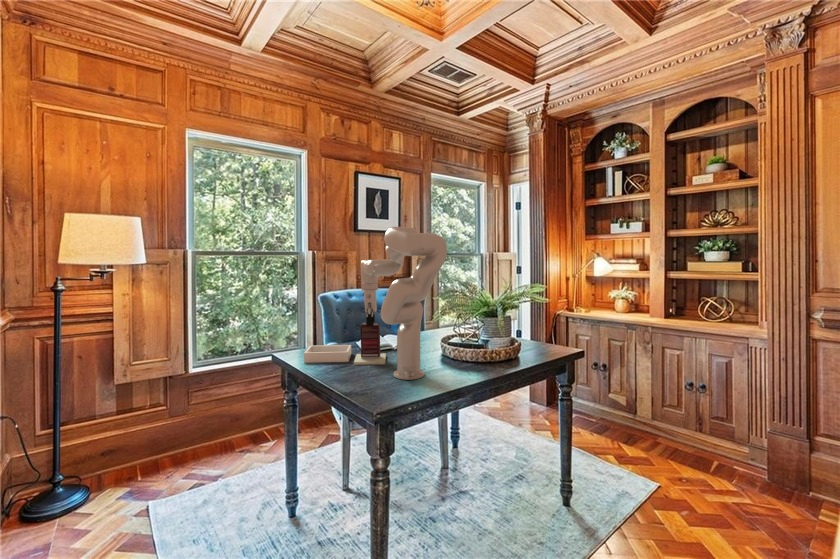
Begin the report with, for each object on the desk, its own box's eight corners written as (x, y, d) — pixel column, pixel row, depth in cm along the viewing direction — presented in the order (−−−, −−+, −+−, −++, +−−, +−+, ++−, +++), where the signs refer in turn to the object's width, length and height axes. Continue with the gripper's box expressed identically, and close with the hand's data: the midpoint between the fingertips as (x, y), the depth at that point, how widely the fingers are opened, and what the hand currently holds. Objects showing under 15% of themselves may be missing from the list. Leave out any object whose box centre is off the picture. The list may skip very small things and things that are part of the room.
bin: (348, 361, 187) (348, 352, 187) (304, 362, 186) (303, 352, 186) (351, 353, 201) (351, 344, 201) (310, 354, 200) (310, 345, 200)
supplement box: (380, 356, 192) (380, 323, 191) (379, 359, 187) (378, 324, 186) (362, 356, 192) (362, 322, 191) (360, 358, 188) (360, 324, 186)
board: (385, 364, 183) (385, 361, 183) (353, 364, 183) (353, 362, 182) (385, 355, 197) (385, 353, 197) (356, 356, 196) (356, 353, 196)
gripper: (377, 288, 179) (378, 326, 180) (378, 285, 196) (379, 320, 197) (359, 288, 178) (361, 327, 179) (362, 285, 195) (363, 321, 196)
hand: (370, 323), depth 188 cm, fingers open, 9 cm apart
